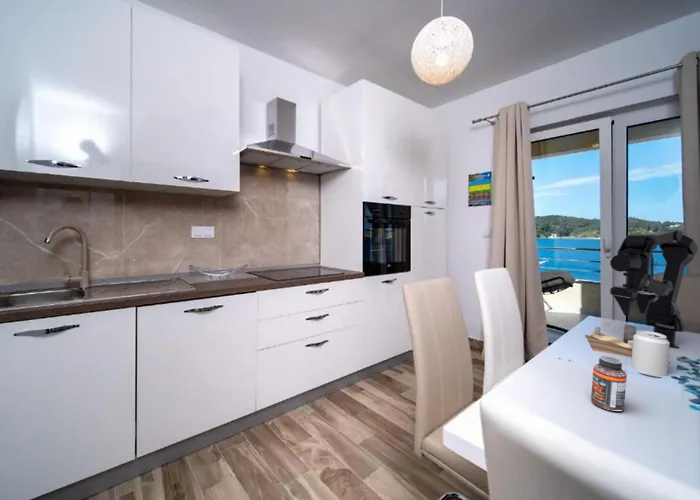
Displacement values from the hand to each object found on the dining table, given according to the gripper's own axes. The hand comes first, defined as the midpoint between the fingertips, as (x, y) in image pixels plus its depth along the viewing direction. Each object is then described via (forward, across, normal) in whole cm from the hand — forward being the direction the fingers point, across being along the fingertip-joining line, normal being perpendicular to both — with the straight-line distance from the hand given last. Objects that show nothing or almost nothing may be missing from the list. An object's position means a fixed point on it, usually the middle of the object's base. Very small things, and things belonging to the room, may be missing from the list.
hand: (634, 314), depth 105 cm
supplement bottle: (+12, -49, -20) cm, 55 cm away
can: (+13, -18, -13) cm, 25 cm away
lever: (+11, -2, +3) cm, 12 cm away
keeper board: (+13, -4, +1) cm, 13 cm away
